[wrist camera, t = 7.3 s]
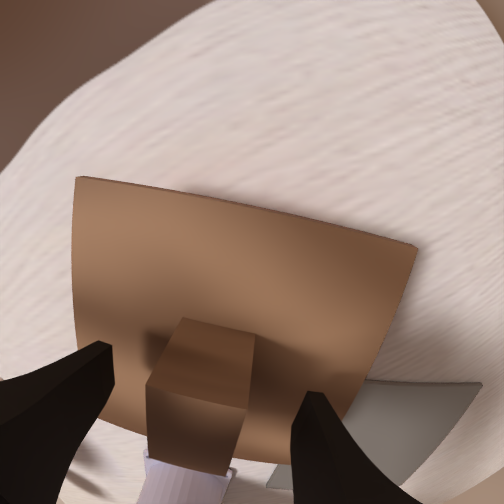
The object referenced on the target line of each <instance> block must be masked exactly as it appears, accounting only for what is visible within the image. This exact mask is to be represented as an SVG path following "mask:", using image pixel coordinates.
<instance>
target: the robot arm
mask: <svg viewBox="0 0 504 504" xmlns="http://www.w3.org/2000/svg"><path fill="white" fill-rule="evenodd" d="M114 386H115V376H114V364H113V348H112V345H111V344H108V343H105V342H102V341H100V340H98V341H96V342H93V343H91V344H89V345H87V346H86V347H84V348H82V349H80V350H78V351H76V352H74V353H72V354H70V355H68V356H66V357H64V358H62V359H60V360H58V361H56V362H54V363H51V364H49V365H47V366H45V367H42V368H40V369H38V370H35V371H33V372H30V373H27V374H25V375H22V376H18V377H15V378H12V379H8V380H4V381H0V504H56V502H57V499H58V495H59V492H60V489H61V486H62V484H63V481H64V479H65V476H66V473H67V471H68V469H69V466H70V464H71V462H72V460H73V457H74V455H75V453H76V451H77V449H78V447H79V446H80V444H81V442H82V441H83V439H84V438H85V436H86V434H87V433H88V431H89V430H90V428H91V427H92V425H93V424H94V422H95V421H96V419H97V418H98V416H99V414H100V413H101V411H102V410H103V408H104V407H105V405H106V403H107V401H108V399H109V397H110V395H111V393H112V390H113V388H114ZM143 454H144V463H145V471H146V479H145V482H144V485H143V487H142V490H141V493H140V495H139V498H138V501H137V504H221V503H222V500H223V498H224V495H225V493H226V490H227V487H228V485H229V482H230V479H231V477H232V473H233V472H232V470H230V469H228V471H227V474H226V477H223V476H218V475H213V474H208V473H203V472H199V471H195V470H190V469H186V468H182V467H179V466H175V465H171V464H168V463H164V462H161V461H157V460H154V459H151V458H149V455H148V449H145V450H144V452H143ZM290 456H291V469H292V482H293V494H294V504H422V503H421V502H419V501H418V500H416V499H414V498H413V497H411V496H410V495H409V494H407V493H406V492H405V491H403V490H402V489H401V488H399V487H398V486H397V485H396V484H395V483H393V482H392V481H391V480H390V479H389V478H388V477H387V476H386V475H384V474H383V473H382V472H381V471H380V470H379V469H378V467H377V466H376V465H375V464H374V463H373V462H372V461H371V460H370V459H369V458H368V457H367V456H366V454H365V453H364V452H363V451H362V449H361V448H360V447H359V446H358V444H357V443H356V442H355V440H354V439H353V438H352V436H351V435H350V433H349V432H348V430H347V429H346V427H345V426H344V424H343V423H342V421H341V420H340V418H339V417H338V415H337V414H336V412H335V410H334V409H333V407H332V406H331V404H330V402H329V401H328V399H327V397H326V396H325V394H324V393H323V392H314V391H307V392H306V395H305V397H304V399H303V402H302V404H301V406H300V408H299V410H298V413H297V415H296V417H295V419H294V421H293V423H292V425H291V438H290Z"/></svg>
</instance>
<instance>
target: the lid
mask: <svg viewBox="0 0 504 504" xmlns="http://www.w3.org/2000/svg"><path fill="white" fill-rule="evenodd" d="M417 251H418V248H416V247H415V246H413V245H412V244H408V243H404V242H401V241H397V240H393V239H390V238H386V237H382V236H378V235H375V234H371V233H367V232H363V231H359V230H355V229H351V228H347V227H343V226H339V225H335V224H331V223H327V222H323V221H319V220H314V219H310V218H306V217H301V216H297V215H293V214H288V213H284V212H279V211H275V210H270V209H266V208H261V207H256V206H252V205H247V204H242V203H237V202H232V201H227V200H222V199H217V198H212V197H207V196H202V195H196V194H191V193H186V192H180V191H175V190H169V189H164V188H158V187H152V186H146V185H140V184H134V183H128V182H121V181H115V180H108V179H102V178H95V177H88V176H80V177H76V179H75V189H74V201H73V217H72V252H71V258H72V293H73V308H74V320H75V330H76V339H77V347H78V350H80V349H82V348H84V347H86V346H87V345H89V344H91V343H93V342H96V341H98V340H100V341H102V342H105V343H108V344H111V345H112V348H113V364H114V376H115V386H114V388H113V390H112V393H111V395H110V397H109V399H108V401H107V403H106V405H105V407H104V408H103V410H102V411H101V413H100V414H99V416H98V418H99V419H101V420H104V421H106V422H109V423H111V424H114V425H116V426H119V427H122V428H124V429H127V430H130V431H133V432H136V433H139V434H142V435H145V436H147V441H148V455H149V458H151V459H154V460H157V461H161V462H164V463H168V464H171V465H175V466H179V467H182V468H186V469H190V470H195V471H199V472H203V473H208V474H213V475H218V476H223V477H226V474H227V471H228V469H229V466H230V463H231V460H232V458H238V459H244V460H251V461H258V462H265V463H274V464H284V465H291V456H290V438H291V425H292V423H293V421H294V419H295V417H296V415H297V413H298V410H299V408H300V406H301V404H302V402H303V399H304V397H305V395H306V392H307V391H314V392H323V393H324V394H325V396H326V397H327V399H328V401H329V402H330V404H331V406H332V407H333V409H334V410H335V412H336V414H337V415H338V417H339V418H340V420H341V421H342V420H343V418H344V416H345V415H346V413H347V411H348V410H349V408H350V406H351V404H352V402H353V401H354V399H355V397H356V395H357V393H358V392H359V390H360V388H361V386H362V384H363V382H364V380H365V378H366V376H367V374H368V372H369V370H370V368H371V366H372V364H373V362H374V360H375V358H376V356H377V354H378V352H379V350H380V347H381V345H382V343H383V341H384V339H385V336H386V334H387V332H388V329H389V327H390V325H391V322H392V320H393V318H394V315H395V313H396V310H397V308H398V305H399V303H400V300H401V297H402V295H403V292H404V289H405V287H406V284H407V281H408V278H409V275H410V273H411V270H412V267H413V264H414V261H415V258H416V255H417Z"/></svg>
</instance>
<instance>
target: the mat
mask: <svg viewBox="0 0 504 504" xmlns="http://www.w3.org/2000/svg"><path fill="white" fill-rule="evenodd" d="M482 386H483V385H482V383H406V382H387V381H373V380H364V382H363V384H362V386H361V388H360V390H359V392H358V393H357V395H356V397H355V399H354V401H353V402H352V404H351V406H350V408H349V410H348V411H347V413H346V415H345V416H344V418H343V420H342V423H343V424H344V426H345V427H346V429H347V430H348V432H349V433H350V435H351V436H352V438H353V439H354V440H355V442H356V443H357V444H358V446H359V447H360V448H361V449H362V451H363V452H364V453H365V454H366V456H367V457H368V458H369V459H370V460H371V461H372V462H373V463H374V464H375V465H376V466H377V467H378V469H379V470H380V471H381V472H382V473H383V474H384V475H386V476H387V477H388V478H389V479H390V480H391V481H392V482H393V483H395V484H396V485H397V486H400V485H402V484H403V483H404V482H405V481H406V480H407V479H408V478H409V477H410V476H411V475H412V474H413V473H414V472H415V471H416V470H417V469H418V468H419V467H420V466H421V465H422V464H423V463H424V462H425V461H426V459H427V458H428V457H429V456H430V455H431V454H432V453H433V452H434V450H435V449H436V448H437V447H438V446H439V445H440V443H441V442H442V441H443V440H444V439H445V437H446V436H447V435H448V434H449V432H450V431H451V430H452V429H453V427H454V426H455V425H456V423H457V422H458V421H459V419H460V418H461V417H462V415H463V414H464V413H465V411H466V410H467V408H468V407H469V406H470V404H471V403H472V401H473V400H474V398H475V397H476V395H477V394H478V392H479V391H480V389H481V388H482ZM266 488H274V489H287V490H293V482H292V469H291V465H284V464H278V465H277V467H276V468H275V470H274V472H273V474H272V476H271V477H270V479H269V481H268V482H267V484H266Z"/></svg>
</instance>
